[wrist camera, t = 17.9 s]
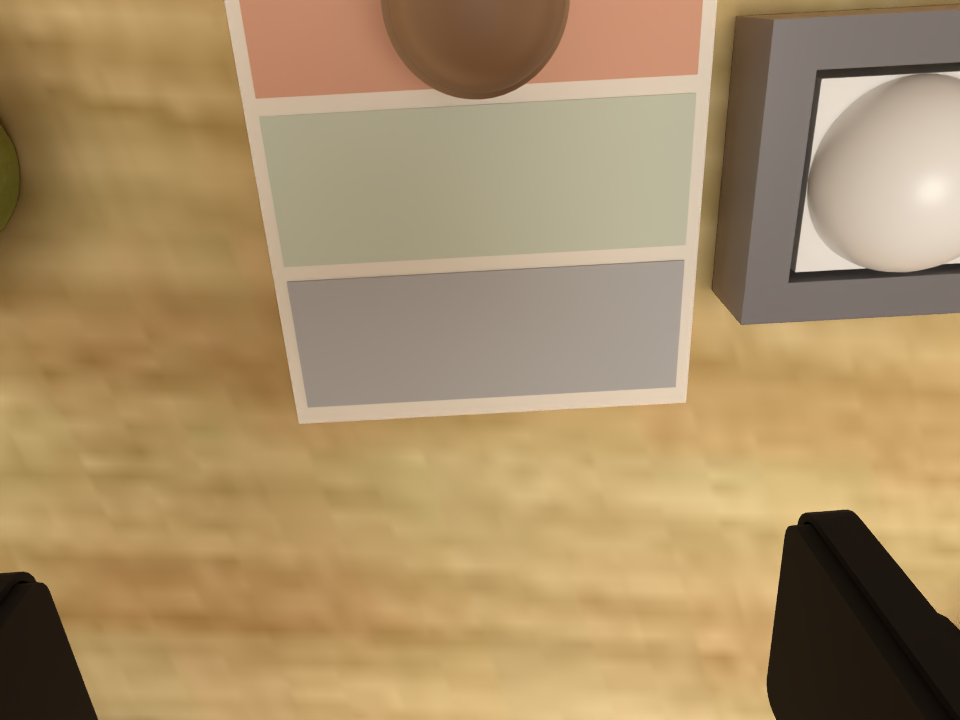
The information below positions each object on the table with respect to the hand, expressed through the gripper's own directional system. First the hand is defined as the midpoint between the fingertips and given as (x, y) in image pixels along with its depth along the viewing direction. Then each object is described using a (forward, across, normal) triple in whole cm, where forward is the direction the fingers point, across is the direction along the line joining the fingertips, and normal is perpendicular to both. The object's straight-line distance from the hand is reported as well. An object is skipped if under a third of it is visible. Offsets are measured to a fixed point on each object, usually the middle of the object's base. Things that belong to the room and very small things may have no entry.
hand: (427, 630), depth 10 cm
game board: (+21, -2, -2) cm, 21 cm away
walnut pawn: (+20, -2, -8) cm, 21 cm away
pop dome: (+21, -16, -1) cm, 26 cm away
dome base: (+21, -16, -2) cm, 26 cm away
